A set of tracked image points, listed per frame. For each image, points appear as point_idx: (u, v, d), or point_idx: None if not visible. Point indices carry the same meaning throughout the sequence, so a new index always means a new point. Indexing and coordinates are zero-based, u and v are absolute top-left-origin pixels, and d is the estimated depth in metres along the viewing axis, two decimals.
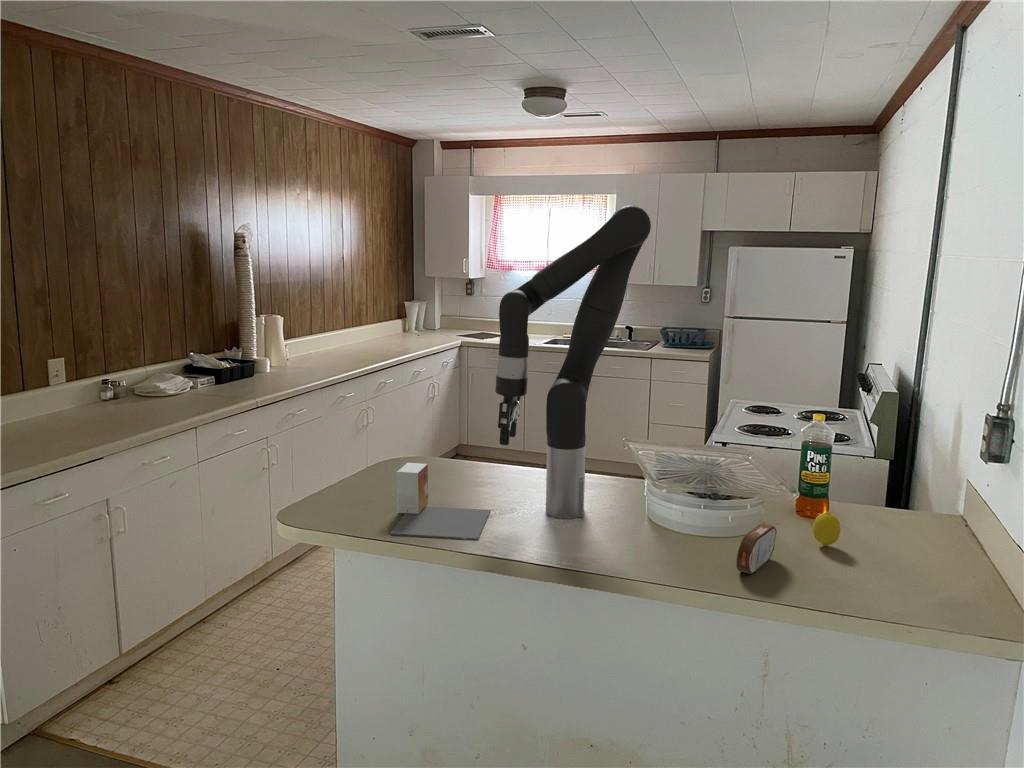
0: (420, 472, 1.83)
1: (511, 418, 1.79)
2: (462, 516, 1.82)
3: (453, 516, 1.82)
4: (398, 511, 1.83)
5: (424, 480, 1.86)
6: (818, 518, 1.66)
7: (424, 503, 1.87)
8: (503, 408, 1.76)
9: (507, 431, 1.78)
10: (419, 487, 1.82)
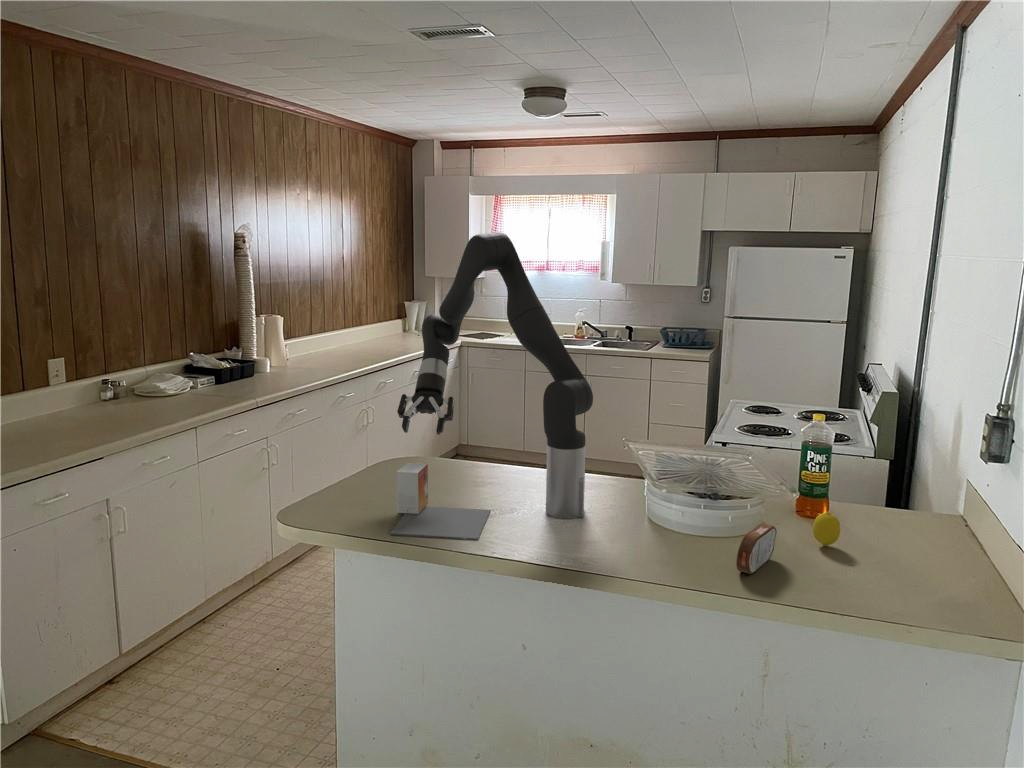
0: (420, 472, 1.83)
1: None
2: (462, 516, 1.82)
3: (453, 516, 1.82)
4: (398, 511, 1.83)
5: (424, 480, 1.86)
6: (818, 518, 1.66)
7: (424, 503, 1.87)
8: None
9: (404, 418, 1.96)
10: (419, 487, 1.82)
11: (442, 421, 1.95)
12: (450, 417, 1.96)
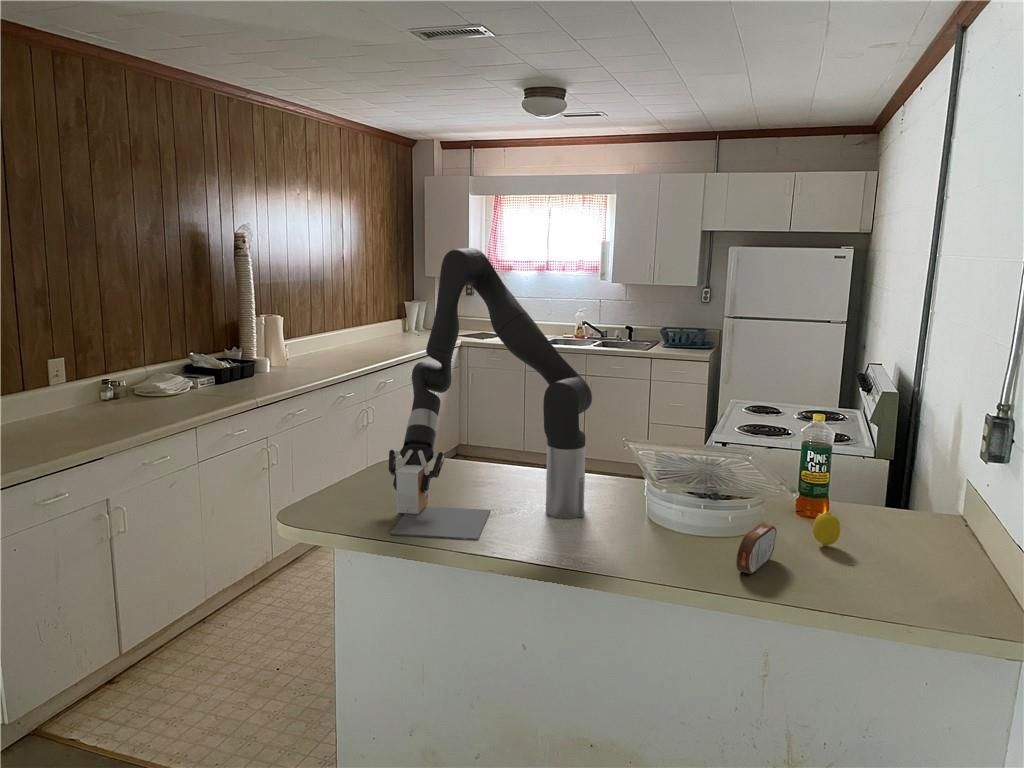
0: (420, 472, 1.83)
1: None
2: (462, 516, 1.82)
3: (453, 516, 1.82)
4: (398, 511, 1.83)
5: None
6: (818, 518, 1.66)
7: (424, 503, 1.87)
8: None
9: None
10: (419, 487, 1.82)
11: (427, 478, 1.84)
12: (435, 474, 1.85)
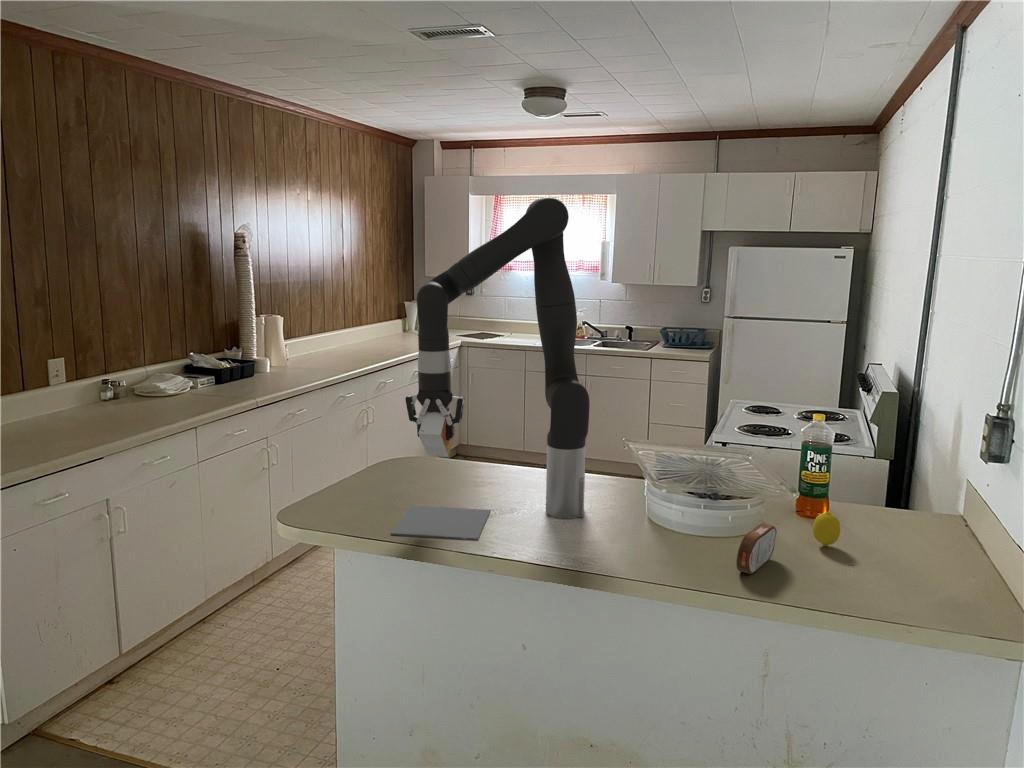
0: (443, 428, 1.76)
1: None
2: (462, 516, 1.82)
3: (453, 516, 1.82)
4: None
5: None
6: (818, 518, 1.66)
7: (452, 438, 1.84)
8: None
9: (418, 425, 1.79)
10: (445, 440, 1.78)
11: (451, 427, 1.78)
12: (458, 421, 1.77)
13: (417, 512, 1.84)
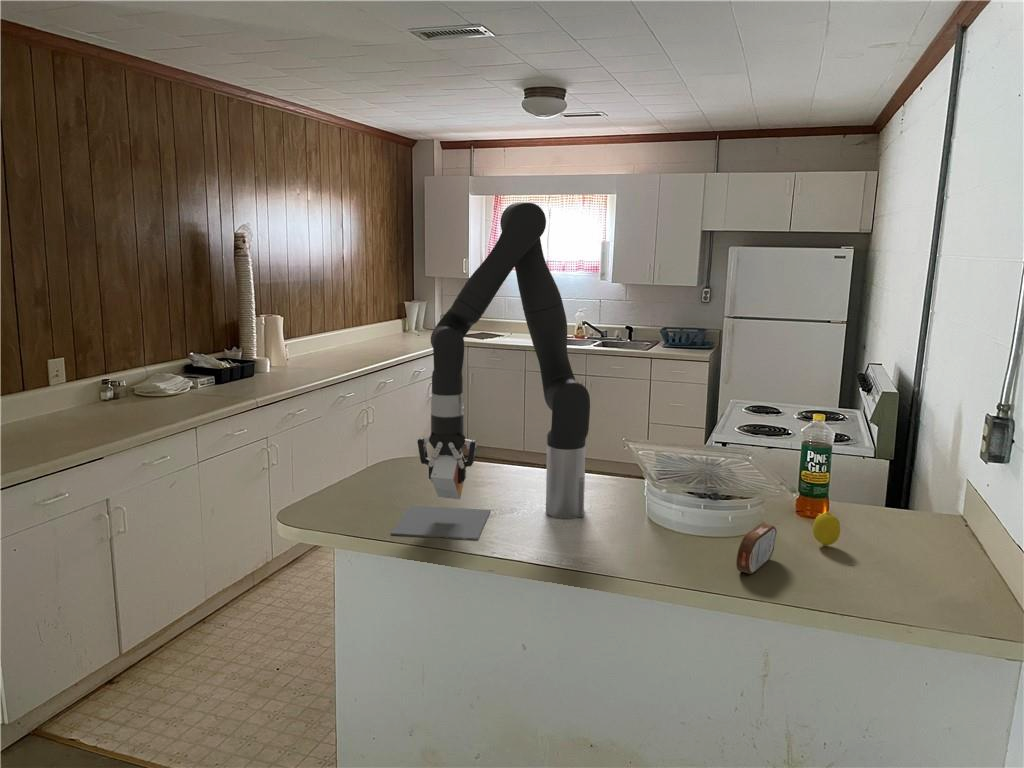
0: (455, 472, 1.74)
1: (432, 455, 1.76)
2: (462, 516, 1.82)
3: (453, 516, 1.82)
4: None
5: None
6: (818, 518, 1.66)
7: None
8: None
9: (430, 467, 1.77)
10: (456, 483, 1.76)
11: (463, 471, 1.76)
12: None
13: (417, 512, 1.84)
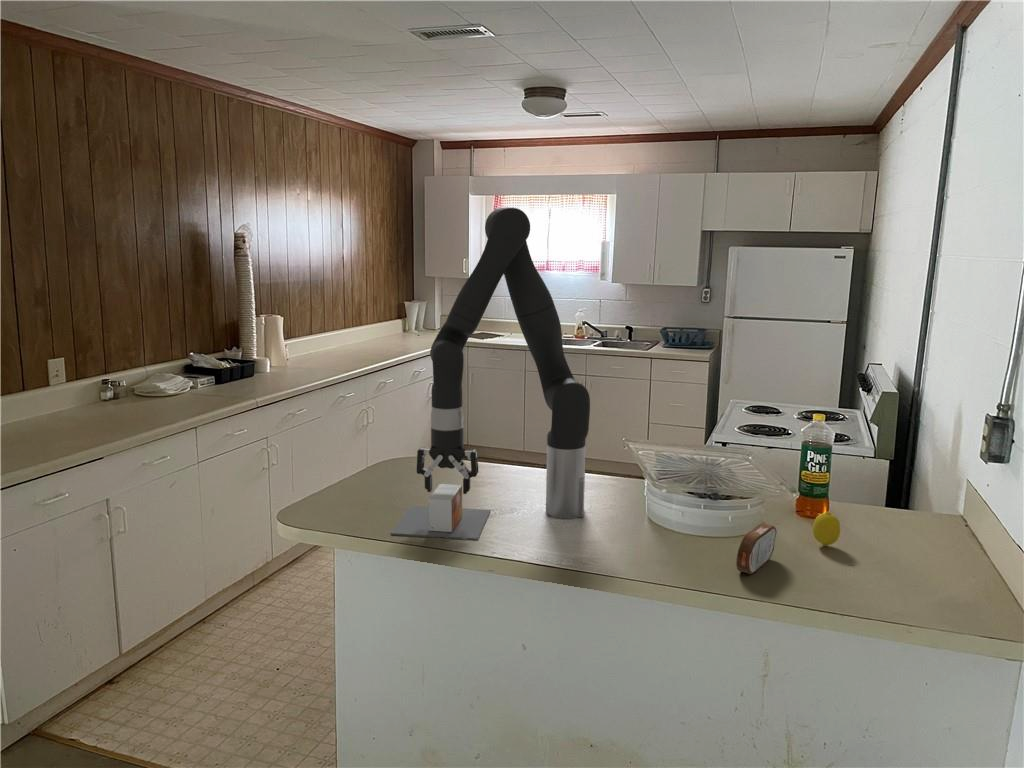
0: (452, 522, 1.72)
1: None
2: (462, 516, 1.82)
3: None
4: None
5: (455, 506, 1.74)
6: (818, 518, 1.66)
7: (461, 498, 1.80)
8: None
9: (426, 477, 1.78)
10: (456, 522, 1.75)
11: (468, 481, 1.77)
12: None
13: (417, 512, 1.84)
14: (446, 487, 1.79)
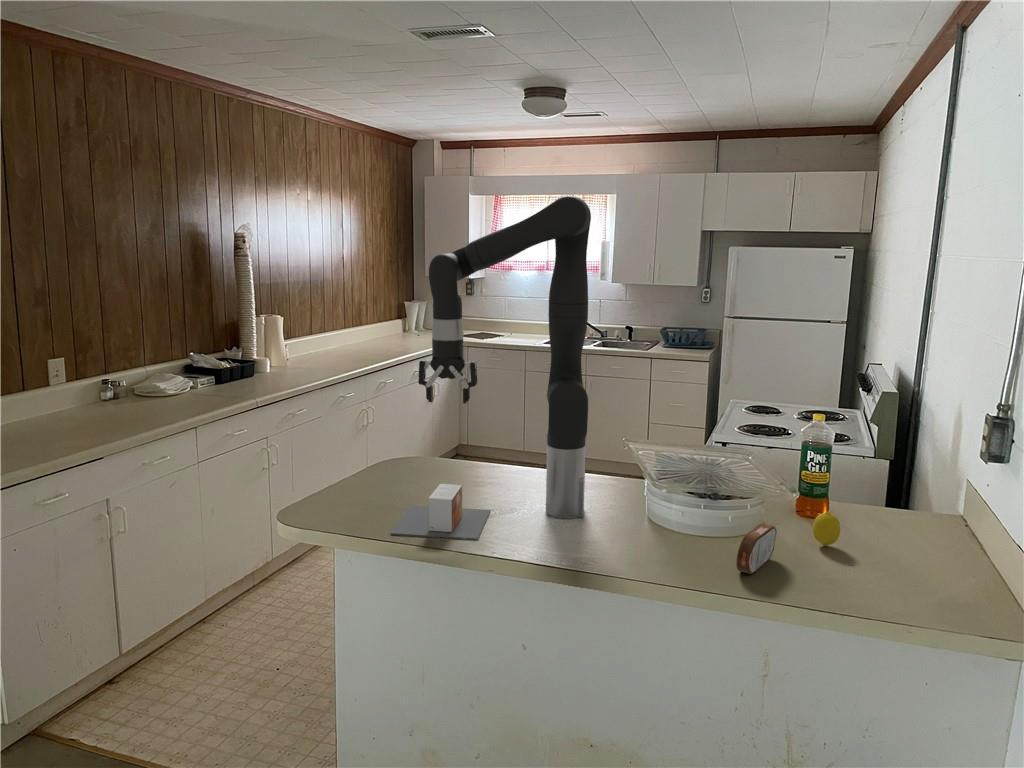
0: (452, 522, 1.72)
1: (431, 377, 1.85)
2: (462, 516, 1.82)
3: None
4: None
5: (455, 506, 1.74)
6: (818, 518, 1.66)
7: (461, 498, 1.80)
8: None
9: (427, 388, 1.87)
10: (456, 522, 1.75)
11: (467, 391, 1.86)
12: None
13: (417, 512, 1.84)
14: (446, 487, 1.79)
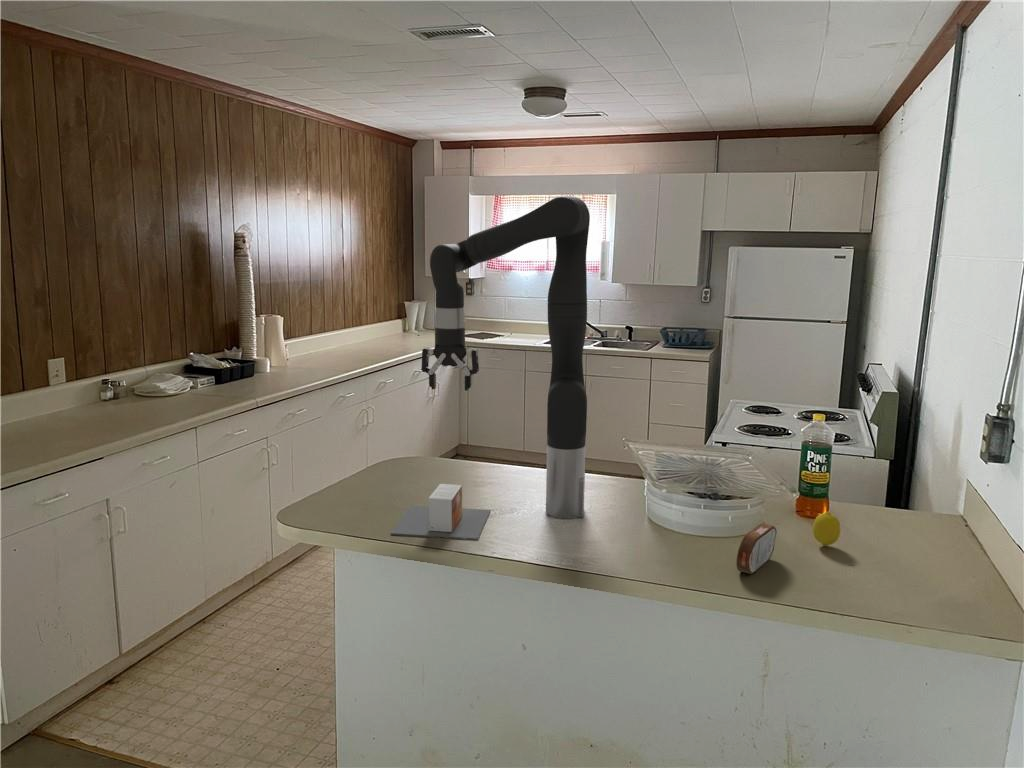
0: (452, 522, 1.72)
1: None
2: (462, 516, 1.82)
3: None
4: None
5: (455, 506, 1.74)
6: (818, 518, 1.66)
7: (461, 498, 1.80)
8: None
9: (430, 375, 1.92)
10: (456, 522, 1.75)
11: (469, 378, 1.90)
12: (476, 372, 1.90)
13: (417, 512, 1.84)
14: (446, 487, 1.79)
